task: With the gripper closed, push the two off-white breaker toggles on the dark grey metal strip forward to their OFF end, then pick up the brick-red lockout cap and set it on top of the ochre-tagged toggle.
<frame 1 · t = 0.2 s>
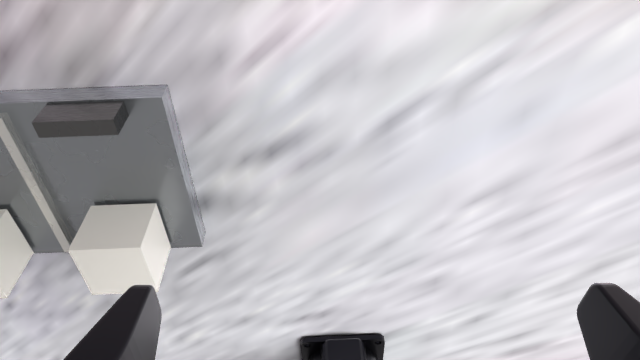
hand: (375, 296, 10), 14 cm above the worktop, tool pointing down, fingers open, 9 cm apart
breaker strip: (50, 173, 25), on the worktop
plain toggle: (124, 248, 25), point 3 cm above the worktop, slide at 0.0 cm
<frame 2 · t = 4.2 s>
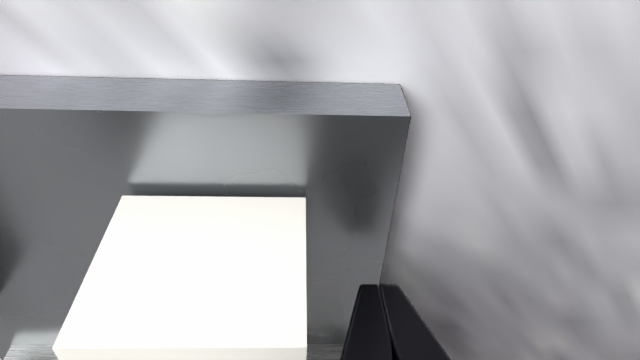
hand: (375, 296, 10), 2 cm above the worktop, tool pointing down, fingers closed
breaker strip: (192, 312, 14), on the worktop
plain toggle: (211, 321, 9), point 3 cm above the worktop, slide at 1.6 cm, touching gripper
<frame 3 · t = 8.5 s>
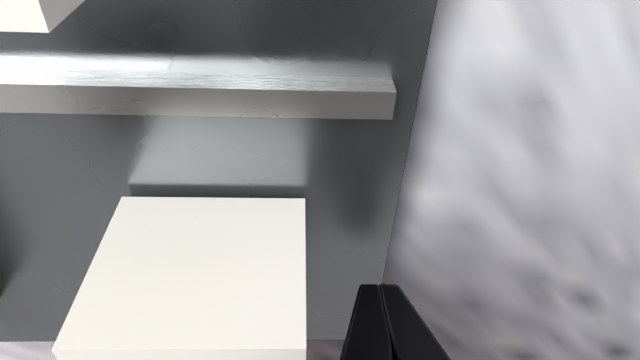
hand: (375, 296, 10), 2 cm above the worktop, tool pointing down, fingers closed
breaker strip: (138, 54, 9), on the worktop
tagged toggle: (212, 327, 9), point 3 cm above the worktop, slide at 1.6 cm, touching gripper
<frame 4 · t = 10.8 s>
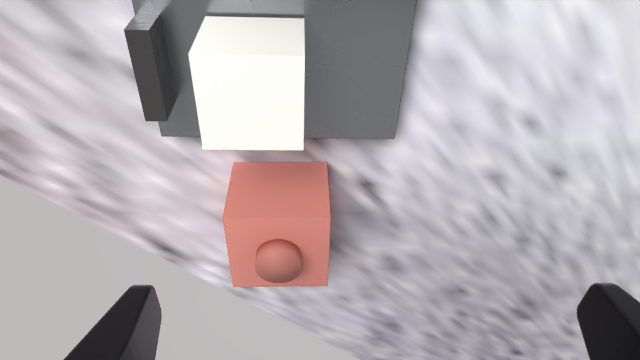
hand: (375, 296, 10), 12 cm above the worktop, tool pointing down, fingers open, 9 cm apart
lockout cap: (282, 195, 24), on the worktop
tagged toggle: (254, 86, 16), point 3 cm above the worktop, slide at 3.7 cm
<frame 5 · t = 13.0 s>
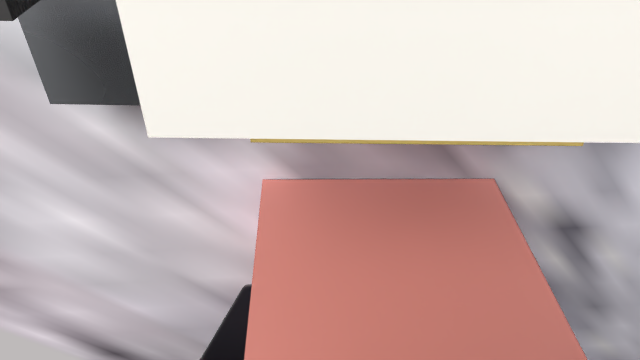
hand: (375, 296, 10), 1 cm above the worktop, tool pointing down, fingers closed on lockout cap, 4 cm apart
lockout cap: (369, 257, 10), on the worktop, touching gripper
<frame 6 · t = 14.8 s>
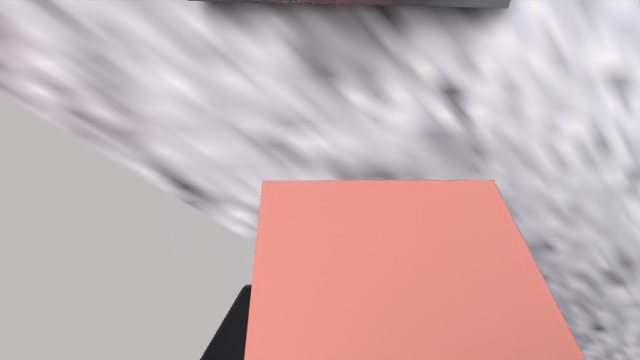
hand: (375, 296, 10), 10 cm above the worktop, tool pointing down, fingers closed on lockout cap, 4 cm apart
lockout cap: (369, 258, 10), point 9 cm above the worktop, touching gripper
when the fingers open (6 cm above the worktop, at t = 16.8 s): lockout cap stays where it is, resting on tagged toggle.
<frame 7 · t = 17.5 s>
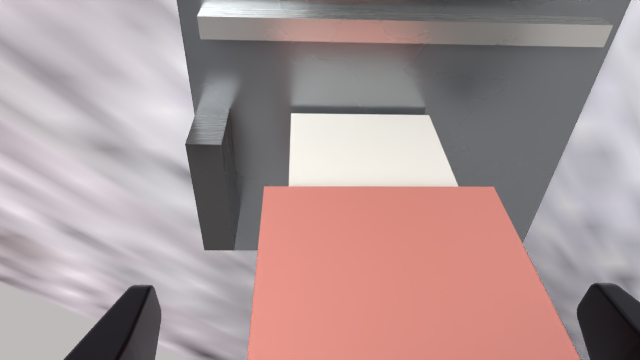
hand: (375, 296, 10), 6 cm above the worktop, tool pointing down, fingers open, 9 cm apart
lockout cap: (369, 263, 10), point 5 cm above the worktop, touching tagged toggle
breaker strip: (395, 5, 11), on the worktop
tagged toggle: (360, 212, 12), point 3 cm above the worktop, slide at 3.8 cm, touching lockout cap
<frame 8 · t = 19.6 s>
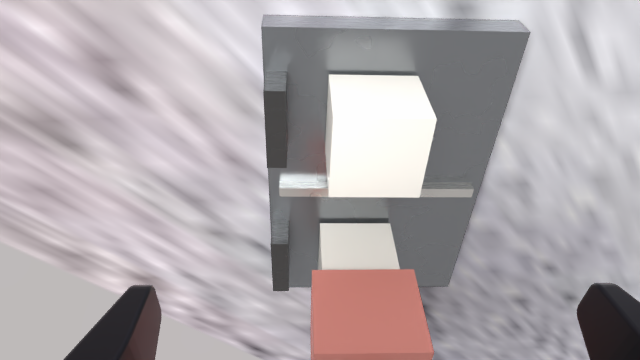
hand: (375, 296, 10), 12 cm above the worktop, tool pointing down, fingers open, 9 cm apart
lockout cap: (359, 301, 22), point 5 cm above the worktop, touching tagged toggle
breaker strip: (372, 170, 23), on the worktop
tagged toggle: (355, 273, 23), point 3 cm above the worktop, slide at 3.8 cm, touching lockout cap
plain toggle: (373, 135, 18), point 3 cm above the worktop, slide at 3.7 cm
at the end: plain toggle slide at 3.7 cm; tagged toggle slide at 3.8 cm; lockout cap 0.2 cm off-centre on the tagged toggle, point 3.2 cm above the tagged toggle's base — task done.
